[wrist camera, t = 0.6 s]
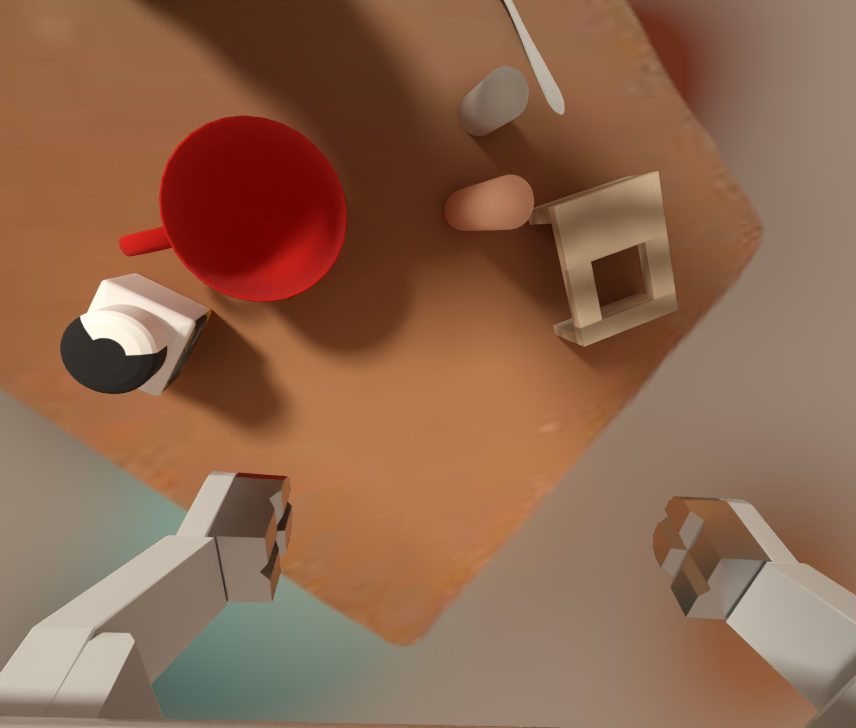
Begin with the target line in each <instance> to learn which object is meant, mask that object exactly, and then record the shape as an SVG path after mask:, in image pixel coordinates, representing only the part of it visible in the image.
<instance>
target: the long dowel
mask: <svg viewBox="0 0 856 728" xmlns="http://www.w3.org/2000/svg"><path fill="white" fill-rule="evenodd" d="M533 208H534V195H533V191H532V189H531V187H530V185H529V184H528V183H527V181H525V180H524V179H523V178H521V177H520V176H517V175H504V176H501V177H498V178H495V179H491V180H488V181H485V182H482V183H479V184H475V185H472V186H469V187H466V188H463V189H460V190H457V191H455V192H453V193H452V194H451V195H450V196H449V197H448V198H447V200H446V202H445V206H444V215H445V218H446V220H447V222H448V224H449V225H450V226H451V227H452V228H454V229H456V230H459V231H481V230H511V229H516V228H518V227H520V226H522V225H523V224H524V223H525V222H526V221H527V220H528V219H529V217H530V216H531V214H532V211H533Z"/></svg>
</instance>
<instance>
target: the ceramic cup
mask: <svg viewBox="0 0 856 728" xmlns="http://www.w3.org/2000/svg"><path fill="white" fill-rule="evenodd" d="M159 202H160V214H161V219H162V223H163V227H159V228H156V229H152V230H147V231H143V232H139V233H134V234H131V235H127V236H124V237H122V238H120V239H119V245H120V248H121V250H122V252H123V253H124V254H125V255H126V256H135V255H141V254H146V253H151V252H155V251H160V250H164V249H169V248H173V250H174V252H175V253H176V255H177V256H178V257H179V258H180V260H181V261H182V262H183V264H184V265H185V266H186V268H188V269H189V270H190V271H191V272H192V273H193V274H194V275H195V276H196V277H197V278H198V279H200V280H201V281H202V282H204V283H205V284H207V285H208V286H210V287H212V288H213V289H215V290H216V291H219V292H221V293H224V294H226V295H229V296H231V297H234V298H238V299H243V300H248V301H259V302H271V301H277V300H283V299H287V298H290V297H293V296H295V295H298V294H301V293H303V292H304V291H306V290H307V289H309V288H311V287H312V286H314V285H315V284H317V283H318V282H319V281H320V280H321V279H322V278H323V277H324V276H325V275H326V274H327V273H328V272H329V270H330V269H331V267H332V266H333V265H334V263H335V262H336V260H337V258H338V256H339V254H340V251H341V249H342V247H343V244H344V239H345V234H346V230H347V207H346V201H345V196H344V192H343V189H342V186H341V184H340V181H339V178H338V176H337V174H336V172H335V171H334V169H333V168H332V166H331V164H330V163H329V161H328V159H327V158H326V157H325V156H324V155H323V154H322V152H321V151H320V150H319V149H318V148H317V147H316V145H314V144H313V143H312V142H311V141H309V140H308V139H307V138H306V137H305V136H303V135H302V134H301V133H299V132H297V131H296V130H294V129H292V128H290V127H288V126H286V125H284V124H282V123H279V122H276V121H273V120H269V119H266V118H261V117H252V116H235V117H225V118H222V119H219V120H216V121H213V122H210V123H207V124H205V125H204V126H202V127H200V128H199V129H197V130H195V131H194V132H192V133H191V134H190V135H189V136H188V137H186V138H185V139H184V140H183V141H182V142H181V143H180V144H179V145H178V146H177V148H176V149H175V151H174V152H173V154H172V156H171V157H170V159H169V160H168V162H167V165H166V168H165V170H164V173H163V176H162V179H161V187H160V195H159ZM269 217H270V219H269Z"/></svg>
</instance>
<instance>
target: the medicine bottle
mask: <svg viewBox="0 0 856 728" xmlns="http://www.w3.org/2000/svg"><path fill="white" fill-rule="evenodd" d="M210 315H211V309H209V308H208V307H206V306H203V305H201V304H199V303H197V302H195V301H193V300H191V299H189V298H187V297H185V296H183V295H180V294H178V293H176V292H174V291H172V290H170V289H168V288H166V287H164V286H162V285H160V284H158V283H155V282H153V281H151V280H149V279H147V278H145V277H143V276H141V275H139V274H130V275H126V276H121V277H116V278H111V279H107V280H103V281H102V282H101V284H100V287H99V289H98V291H97V293H96V295H95V297H94V299H93V301H92V304H91V306H90V308H89V310H88V312H87V313H86V314H84V315H82V316H80V317H78V318H77V319H75V320H74V321H73V322H72V323H71V324H70V325H69V326H68V327H67V328H66V330H65V332H64V334H63V337H62V339H61V347H60V351H61V357H62V360H63V363H64V365H65V367H66V369H67V370H68V372H69V373H70V374H71V375H72V376H73V378H74V379H76V380H77V381H78V382H79V383H81V384H82V385H84V386H85V387H87V388H89V389H92V390H94V391H97V392H101V393H107V394H120V393H126V392H130V391H132V390H135V389H139V390H142V391H144V392H147V393H149V394H152V395H154V396H159V395H160V394H161V393H162V392H163V391H164V390H165V389H166V388H167V387H168V386H169V385H170V384H171V383H172V382H173V381H174V380H175V379H176V378H177V377H178V376H179V375H180V374H181V372H182V370H183V369H184V367H185V365H186V363H187V361H188V359H189V357H190V355H191V353H192V351H193V349H194V347H195V345H196V343H197V341H198V339H199V337H200V335H201V333H202V331H203V329H204V327H205V325H206V323H207V321H208V319H209V317H210Z"/></svg>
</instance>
